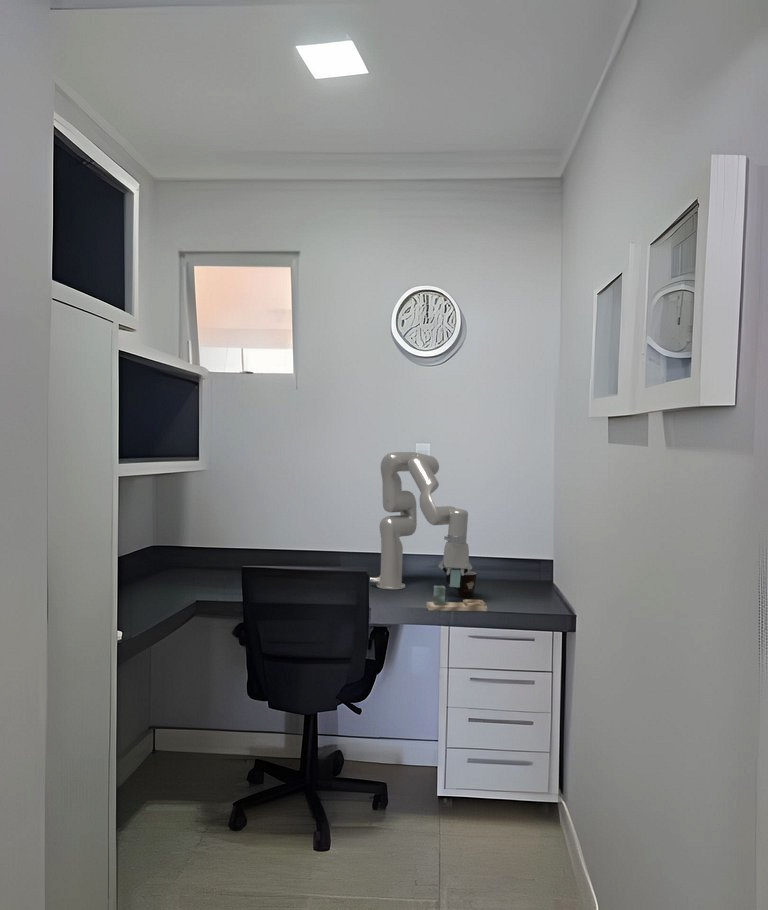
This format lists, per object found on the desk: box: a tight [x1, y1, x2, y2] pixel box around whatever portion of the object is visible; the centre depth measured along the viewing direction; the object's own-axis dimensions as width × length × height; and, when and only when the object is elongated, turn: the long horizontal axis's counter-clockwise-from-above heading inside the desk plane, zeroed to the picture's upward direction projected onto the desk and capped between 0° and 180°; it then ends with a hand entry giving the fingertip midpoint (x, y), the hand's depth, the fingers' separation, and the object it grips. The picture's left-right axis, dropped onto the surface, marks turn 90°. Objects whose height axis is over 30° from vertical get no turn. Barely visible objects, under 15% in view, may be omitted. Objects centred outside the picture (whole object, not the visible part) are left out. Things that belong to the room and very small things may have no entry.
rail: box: [425, 585, 488, 612], centre depth 318 cm, size 23×8×8 cm, turn 94°
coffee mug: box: [453, 570, 477, 599], centre depth 341 cm, size 12×9×10 cm
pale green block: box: [448, 568, 461, 588], centre depth 328 cm, size 5×4×7 cm
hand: (454, 583), depth 328 cm, fingers closed on pale green block, 4 cm apart
